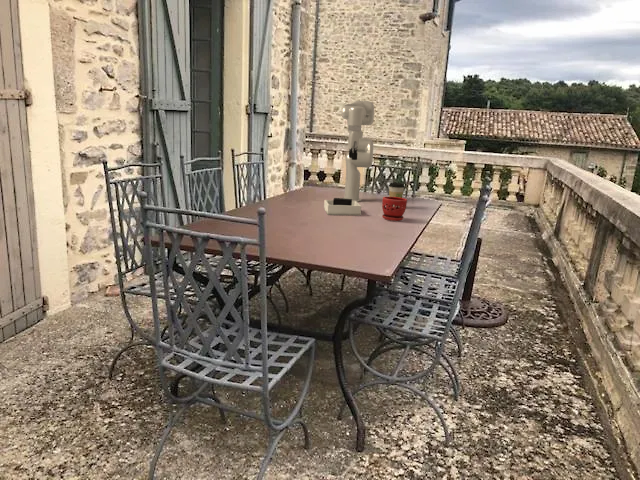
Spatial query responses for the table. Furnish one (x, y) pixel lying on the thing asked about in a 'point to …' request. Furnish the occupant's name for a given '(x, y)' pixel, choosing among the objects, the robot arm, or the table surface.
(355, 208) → the box
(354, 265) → the table surface
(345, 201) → the digital camera
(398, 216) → the plant pot
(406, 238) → the table surface
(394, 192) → the coffee cup
